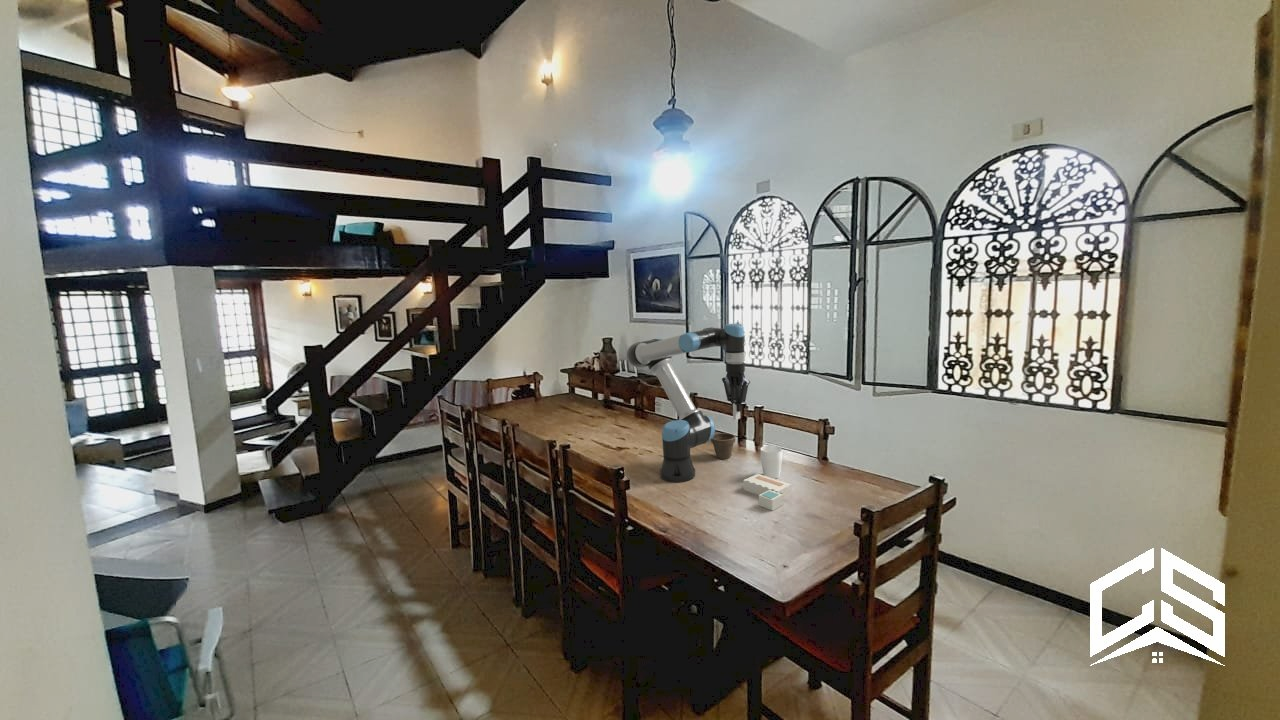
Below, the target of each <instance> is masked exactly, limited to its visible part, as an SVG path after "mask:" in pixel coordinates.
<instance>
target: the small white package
mask: <svg viewBox="0 0 1280 720" xmlns="http://www.w3.org/2000/svg"><path fill="white" fill-rule="evenodd" d="M771 489H772V490H774V491H777V492H779V493H783V494H784V499H785V498H787V497H788V496H790V495H792V484H791V483H789V482H785V481H782V480H779V479H773V478H770V477H767V476H764V475H763V474H760V473H755V474H754V475H751V476H750V477H748V478H745V479H743V491H747V492H749V493H752V494H754V495H758V496H759V495H760V494H762V493H764V492H766V491H768V490H771Z"/></svg>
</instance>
